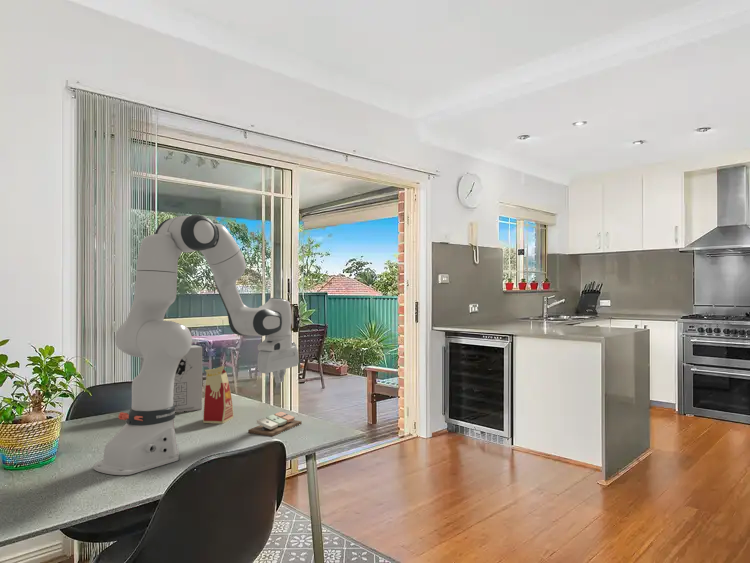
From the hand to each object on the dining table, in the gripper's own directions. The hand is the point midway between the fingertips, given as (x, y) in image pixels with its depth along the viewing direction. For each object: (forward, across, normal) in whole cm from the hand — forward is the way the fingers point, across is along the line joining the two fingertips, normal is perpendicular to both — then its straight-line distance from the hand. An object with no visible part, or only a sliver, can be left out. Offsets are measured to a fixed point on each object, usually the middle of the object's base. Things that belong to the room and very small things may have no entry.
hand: (279, 382), depth 185 cm
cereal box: (+15, +2, -50) cm, 52 cm away
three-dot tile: (+12, 0, +2) cm, 13 cm away
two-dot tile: (+12, +5, +2) cm, 14 cm away
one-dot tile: (+12, +10, +2) cm, 16 cm away
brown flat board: (+15, +5, +2) cm, 16 cm away
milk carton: (+15, +5, -24) cm, 29 cm away
